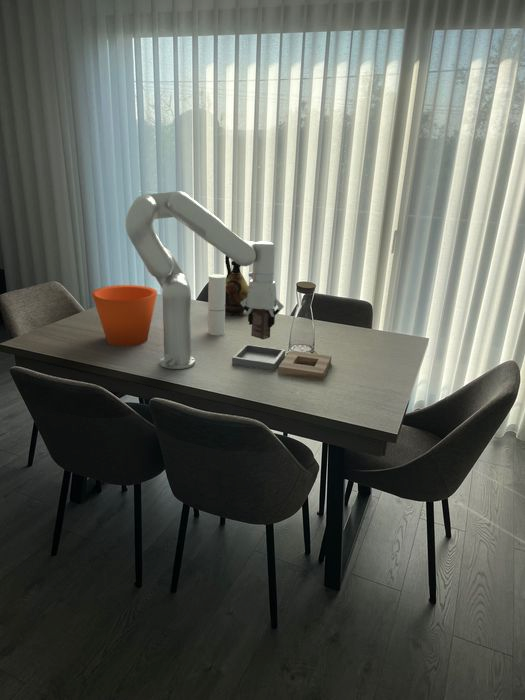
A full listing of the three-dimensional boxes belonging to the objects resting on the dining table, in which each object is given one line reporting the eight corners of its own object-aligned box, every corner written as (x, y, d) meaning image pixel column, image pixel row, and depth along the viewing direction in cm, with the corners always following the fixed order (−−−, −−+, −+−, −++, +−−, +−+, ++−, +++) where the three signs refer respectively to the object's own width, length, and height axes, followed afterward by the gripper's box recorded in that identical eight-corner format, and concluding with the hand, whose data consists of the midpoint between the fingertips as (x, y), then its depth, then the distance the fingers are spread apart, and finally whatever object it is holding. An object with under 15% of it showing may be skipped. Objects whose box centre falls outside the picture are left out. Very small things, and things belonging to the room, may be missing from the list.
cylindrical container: (225, 330, 226) (226, 274, 217) (223, 335, 219) (224, 278, 211) (209, 329, 226) (210, 273, 218) (206, 334, 220) (207, 277, 211)
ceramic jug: (255, 312, 256) (258, 252, 245) (238, 319, 243) (240, 256, 233) (228, 306, 264) (229, 247, 254) (209, 312, 252) (210, 251, 241)
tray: (274, 371, 184) (274, 363, 183) (232, 365, 188) (232, 357, 187) (284, 356, 199) (285, 349, 198) (245, 351, 203) (245, 344, 202)
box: (270, 337, 190) (272, 306, 186) (262, 340, 187) (263, 308, 183) (258, 333, 194) (260, 302, 189) (250, 336, 190) (251, 304, 186)
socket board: (322, 381, 178) (323, 373, 177) (277, 374, 182) (278, 366, 181) (330, 363, 194) (331, 356, 193) (289, 357, 198) (290, 350, 197)
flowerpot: (111, 354, 193) (108, 303, 186) (85, 336, 211) (81, 289, 204) (169, 342, 208) (168, 295, 201) (141, 326, 226) (139, 282, 219)
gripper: (236, 277, 181) (235, 325, 187) (283, 281, 177) (281, 330, 183) (243, 273, 188) (242, 319, 194) (289, 277, 184) (286, 324, 190)
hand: (261, 324), depth 188 cm, fingers closed on box, 7 cm apart
